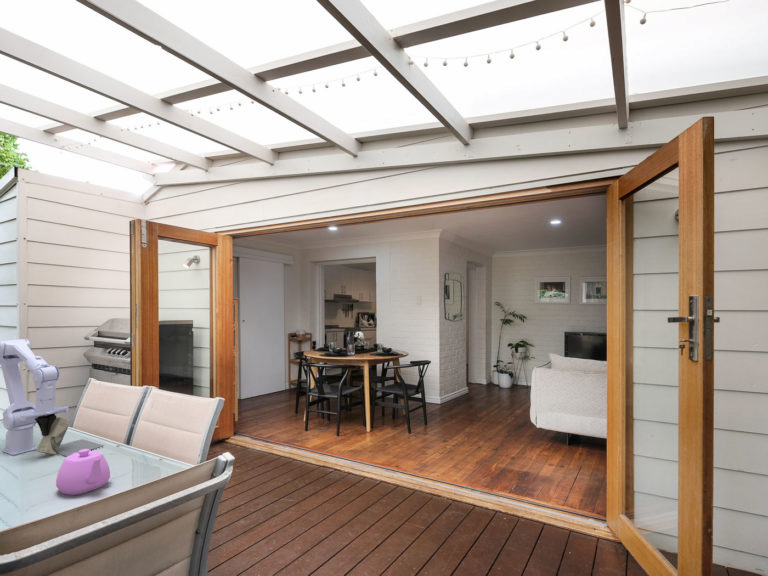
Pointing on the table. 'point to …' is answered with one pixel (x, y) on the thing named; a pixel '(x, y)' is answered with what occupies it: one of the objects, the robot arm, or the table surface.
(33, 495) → the table surface
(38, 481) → the table surface
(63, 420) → the box
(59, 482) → the teapot
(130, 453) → the table surface
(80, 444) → the mat
